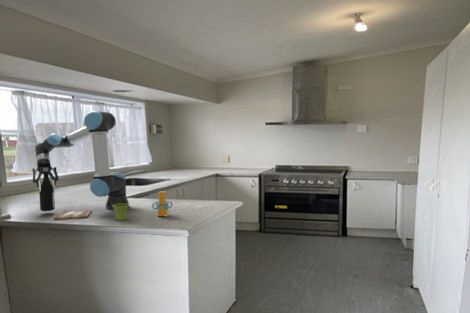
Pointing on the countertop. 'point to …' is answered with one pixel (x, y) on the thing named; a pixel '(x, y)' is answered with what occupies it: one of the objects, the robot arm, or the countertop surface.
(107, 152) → the robot arm
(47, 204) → the wine bottle
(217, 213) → the countertop surface
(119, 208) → the plant pot
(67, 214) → the board
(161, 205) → the orange block with loops
